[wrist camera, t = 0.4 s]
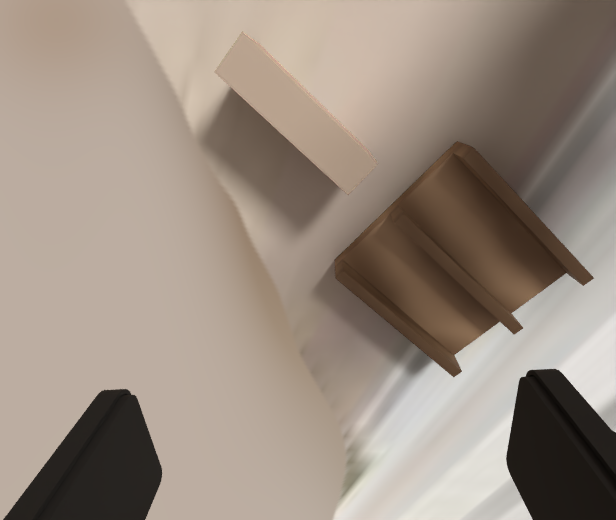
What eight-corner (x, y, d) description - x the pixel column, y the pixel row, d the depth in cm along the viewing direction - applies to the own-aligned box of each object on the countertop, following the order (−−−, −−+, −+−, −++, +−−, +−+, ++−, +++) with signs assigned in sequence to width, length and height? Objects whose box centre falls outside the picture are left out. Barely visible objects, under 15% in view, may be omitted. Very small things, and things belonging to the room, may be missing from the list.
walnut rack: (457, 141, 32) (473, 147, 28) (566, 258, 35) (594, 278, 32) (334, 259, 37) (335, 278, 33) (442, 351, 40) (453, 377, 37)
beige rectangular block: (260, 44, 29) (242, 31, 23) (368, 149, 32) (378, 163, 26) (237, 76, 30) (214, 71, 24) (344, 175, 33) (348, 195, 27)
